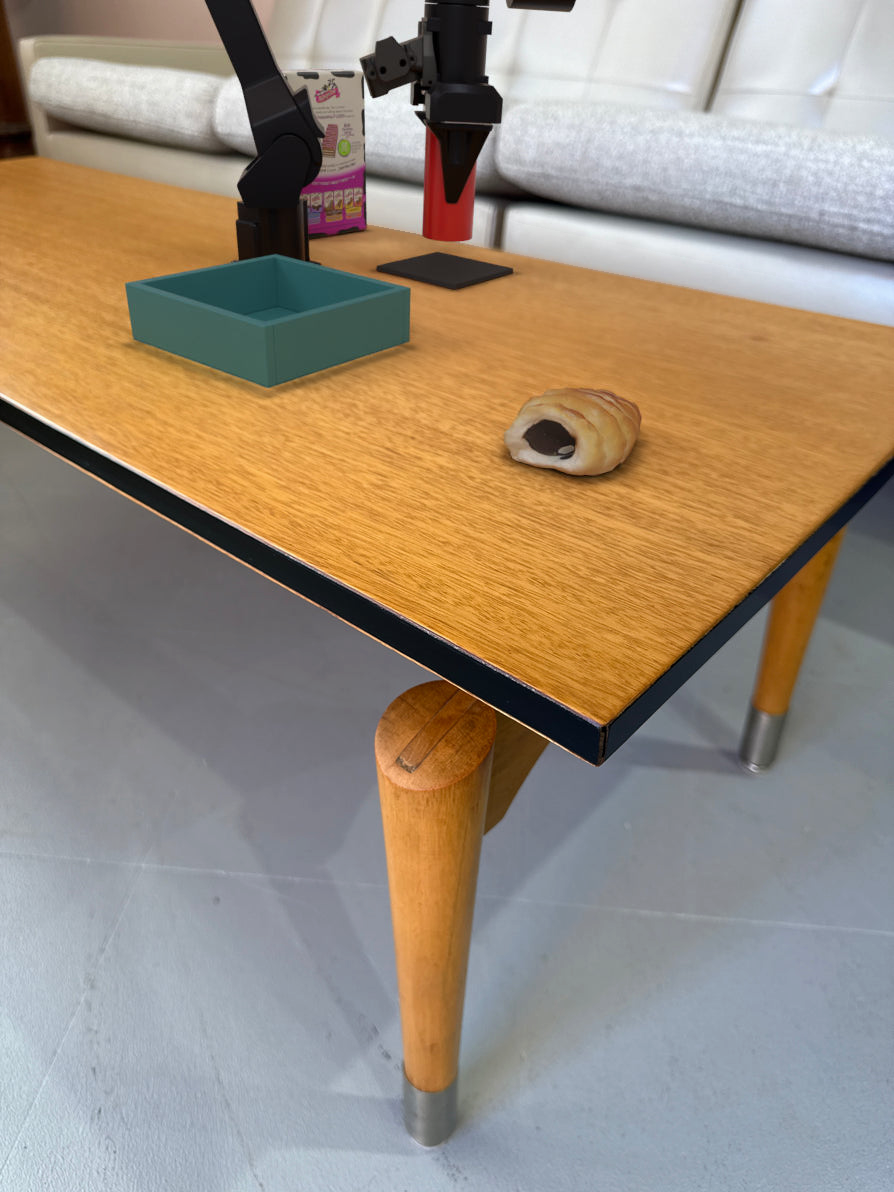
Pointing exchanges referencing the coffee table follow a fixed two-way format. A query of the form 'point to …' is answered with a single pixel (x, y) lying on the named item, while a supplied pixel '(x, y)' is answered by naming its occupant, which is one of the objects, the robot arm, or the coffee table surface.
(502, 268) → the mat
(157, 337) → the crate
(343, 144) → the candy bar box
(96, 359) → the coffee table surface
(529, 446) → the pastry
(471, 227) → the can
